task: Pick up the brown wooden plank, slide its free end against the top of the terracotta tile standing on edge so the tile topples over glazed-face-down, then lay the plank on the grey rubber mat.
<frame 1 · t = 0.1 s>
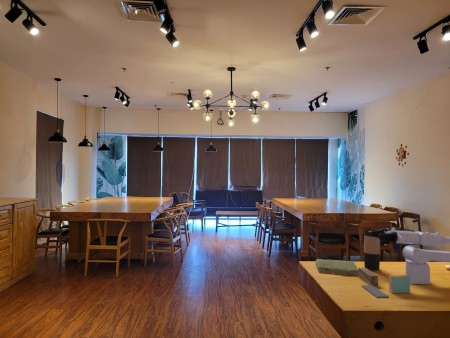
hand: (374, 235, 150), 22 cm above the table, tool horizontal, fingers open, 7 cm apart
travel mug: (371, 269, 170), on the table
tile: (399, 292, 137), on the table
mat: (374, 291, 138), on the table
decorative tile: (336, 270, 169), on the table
brown wooden plank: (367, 281, 151), on the table
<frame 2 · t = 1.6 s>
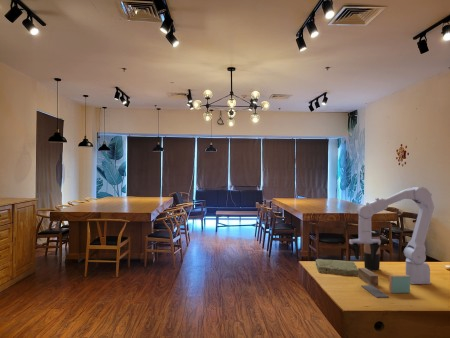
hand: (364, 259, 154), 9 cm above the table, tool pointing down, fingers open, 7 cm apart
nothing on the table moved.
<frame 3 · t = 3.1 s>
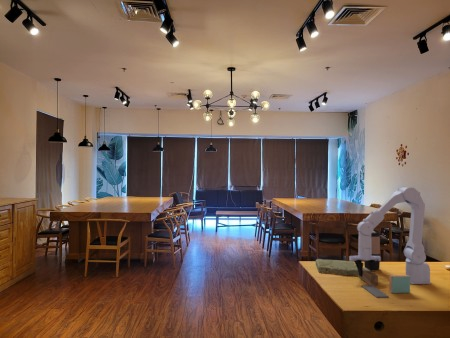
hand: (364, 275, 154), 1 cm above the table, tool pointing down, fingers closed on brown wooden plank, 3 cm apart
brown wooden plank: (367, 281, 151), on the table, touching gripper
everything else where it was.
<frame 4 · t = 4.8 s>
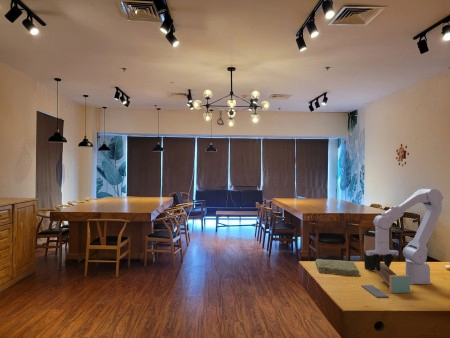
hand: (382, 270, 151), 5 cm above the table, tool pointing down, fingers closed on brown wooden plank, 3 cm apart
brown wooden plank: (385, 277, 149), point 2 cm above the table, tilted 12°, touching gripper
everything else where it was.
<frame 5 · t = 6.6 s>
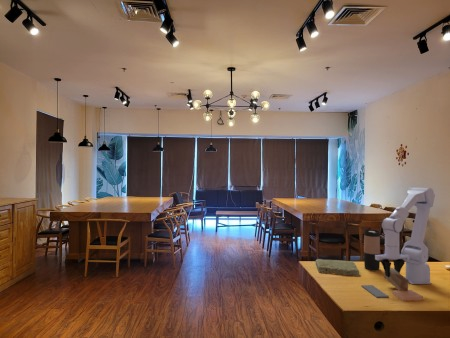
hand: (392, 276, 143), 5 cm above the table, tool pointing down, fingers closed on brown wooden plank, 3 cm apart
tile: (402, 292, 135), point 1 cm above the table, tilted 90°
brown wooden plank: (395, 283, 140), point 2 cm above the table, tilted 8°, touching gripper
everything else where it was.
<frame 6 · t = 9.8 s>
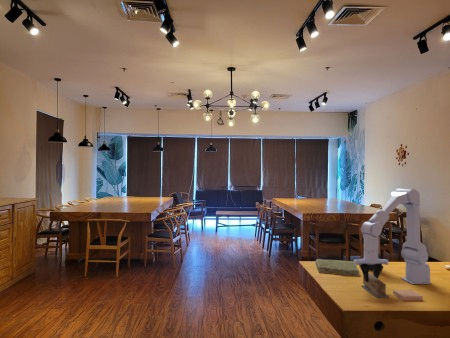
hand: (370, 281, 141), 3 cm above the table, tool pointing down, fingers closed on brown wooden plank, 3 cm apart
brown wooden plank: (373, 289, 138), point 1 cm above the table, touching gripper, mat
everything else where it was.
when the fingers open (3 cm above the table, at t = 10.1 s): brown wooden plank stays where it is, resting on mat.
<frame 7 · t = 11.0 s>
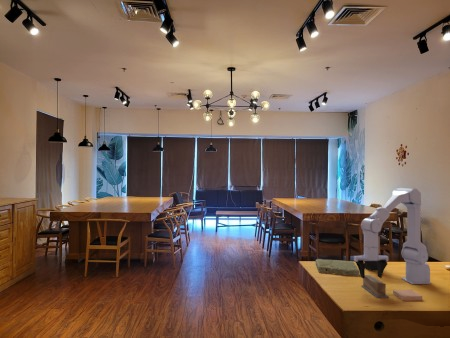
hand: (371, 277, 141), 5 cm above the table, tool pointing down, fingers open, 7 cm apart
brown wooden plank: (373, 290, 138), resting on mat
everything else where it was.
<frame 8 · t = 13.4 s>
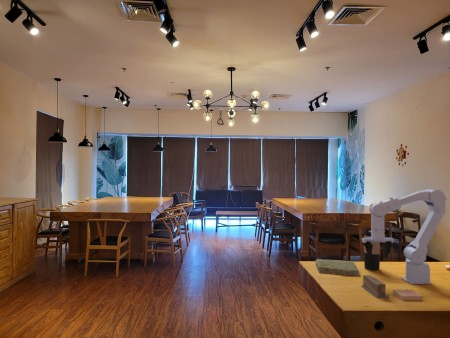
hand: (377, 257, 153), 10 cm above the table, tool pointing down, fingers open, 7 cm apart
nothing on the table moved.
at the end: tile tilted 90°; brown wooden plank inside the target area on the mat (0.5 cm from its centre), point 0.5 cm above the mat's base; the gripper is holding nothing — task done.
